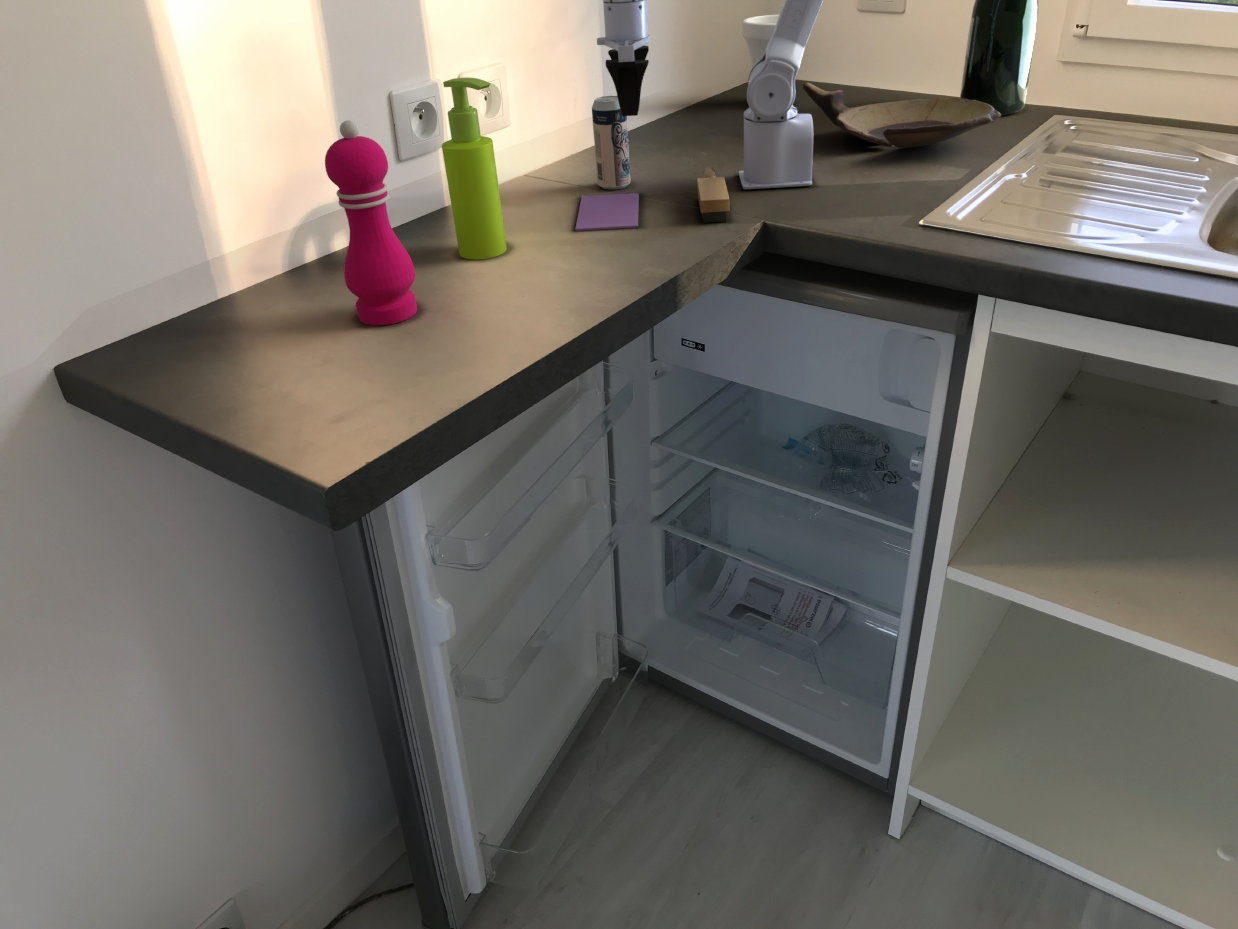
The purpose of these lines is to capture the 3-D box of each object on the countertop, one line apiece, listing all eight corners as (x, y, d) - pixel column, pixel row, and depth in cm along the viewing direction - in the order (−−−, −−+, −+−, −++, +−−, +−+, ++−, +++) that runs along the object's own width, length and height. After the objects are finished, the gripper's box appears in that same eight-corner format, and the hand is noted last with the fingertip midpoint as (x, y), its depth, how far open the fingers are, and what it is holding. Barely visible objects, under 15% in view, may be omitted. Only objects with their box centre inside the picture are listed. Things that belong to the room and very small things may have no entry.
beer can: (627, 190, 133) (621, 102, 127) (594, 190, 134) (587, 103, 128) (633, 181, 137) (628, 94, 131) (601, 181, 138) (595, 95, 131)
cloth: (638, 194, 131) (638, 192, 131) (638, 227, 119) (637, 225, 119) (581, 198, 132) (581, 195, 131) (575, 230, 120) (575, 228, 120)
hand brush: (721, 186, 132) (721, 163, 130) (729, 222, 119) (729, 198, 117) (695, 187, 132) (695, 165, 131) (701, 223, 119) (700, 199, 117)
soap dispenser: (493, 263, 112) (468, 85, 101) (449, 255, 115) (420, 82, 104) (523, 247, 116) (501, 74, 105) (479, 240, 119) (454, 72, 108)
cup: (760, 94, 181) (761, 13, 173) (813, 98, 175) (816, 14, 168) (731, 107, 173) (731, 23, 166) (785, 111, 168) (788, 24, 160)
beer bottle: (1011, 119, 153) (1047, -119, 135) (948, 113, 158) (975, -116, 141) (1033, 105, 159) (1070, -124, 141) (972, 101, 165) (1000, -120, 147)
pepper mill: (359, 304, 103) (316, 115, 93) (425, 298, 104) (389, 109, 93) (349, 330, 97) (301, 132, 87) (418, 324, 98) (380, 125, 87)
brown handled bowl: (919, 173, 131) (925, 116, 127) (780, 136, 153) (781, 86, 149) (1027, 143, 140) (1036, 89, 136) (881, 112, 162) (885, 65, 158)
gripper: (596, -5, 129) (603, 99, 136) (591, 9, 117) (599, 122, 124) (648, -8, 128) (652, 96, 136) (648, 5, 116) (652, 119, 123)
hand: (630, 109), depth 130 cm, fingers open, 7 cm apart
